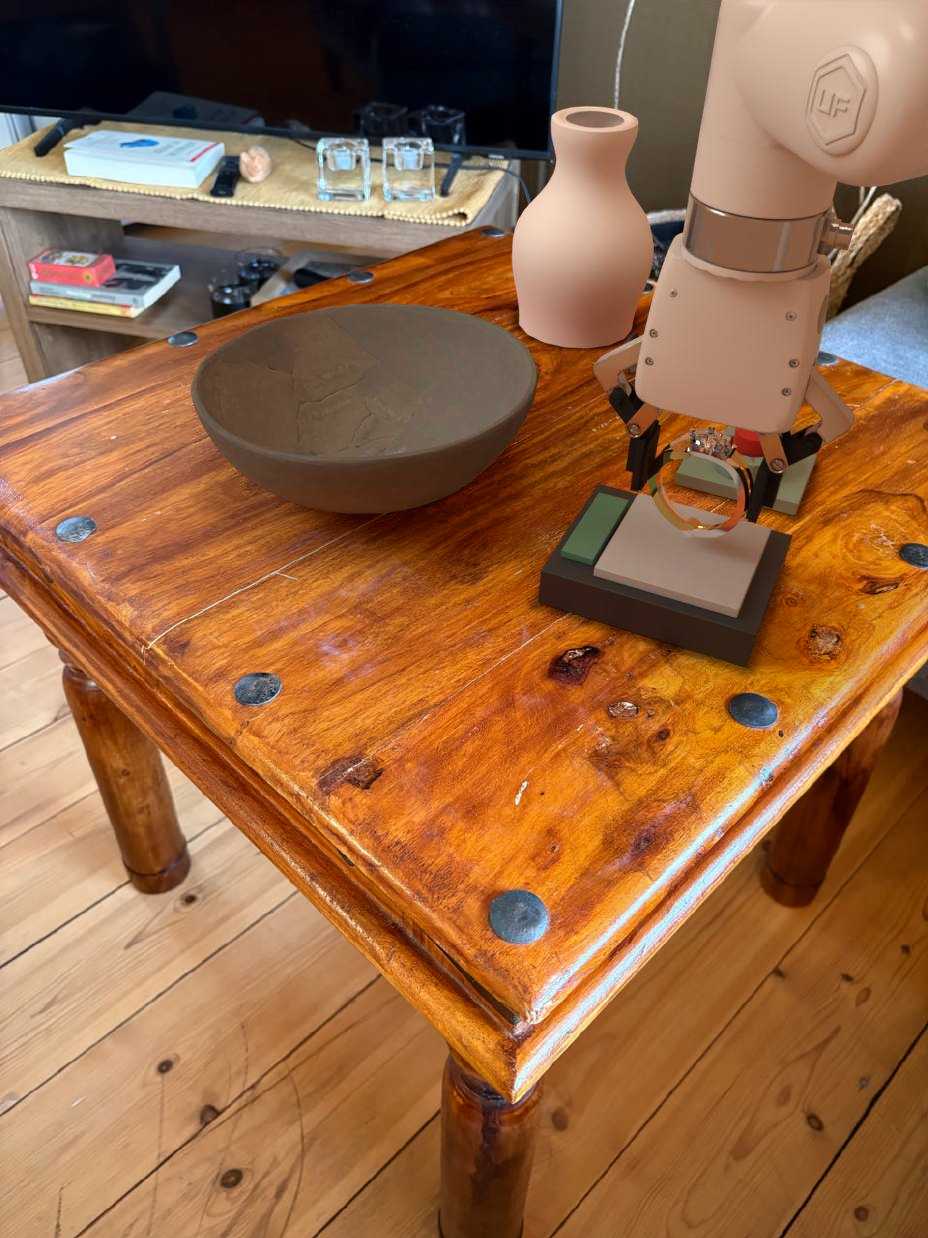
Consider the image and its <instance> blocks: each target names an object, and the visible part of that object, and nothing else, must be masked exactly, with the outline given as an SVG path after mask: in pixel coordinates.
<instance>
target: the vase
mask: <svg viewBox="0 0 928 1238" xmlns="http://www.w3.org/2000/svg"><path fill="white" fill-rule="evenodd" d="M550 132H551V133H550V135H551V139H552V144H553V148H554V153H555V158H556V159H555V160H556V161H555V167H554V170H553V173H552V175H551V177H550V178H549V181H548V182H547V184H546V185H545V186H544V187H543V189H542V190H541V191H540V193H539V194H537V195H536V196H535V198H534V199H533V200H532V201H531V202H530V203H529V204H528V205H527V206H526V207H525V209H524V210H523V211H522V213H521V215H520V216H519V217H518V220H517V222H516V225H515V227H514V232H513V236H512V248H511V249H512V250H511V265H512V274H513V281H514V286H515V291H516V297H517V303H518V313H519V319H518V325H519V327H520V328H521V329H522V330H523V332H525V333H526V335H528V336H529V337H532V338H534V339H535V340H538V341H540V342H541V343H544V344H549V345H553V346H557V347H562V348H573V349H592V348H600V347H606V346H607V347H608V346H611V345H613V344H616V343H617V342H620V341H622V340H625V338H627V336H628V335H629V334H630V333H631V331H632V330H633V324H634V318H635V315H636V312H637V308H638V306H639V304H640V300H641V298H642V296H643V293H644V290H645V288H646V286H647V282H648V280H649V277H650V275H651V270H652V266H653V261H654V255H655V251H654V250H655V248H654V247H655V244H654V238H653V233H652V229H651V224H650V222H649V219H648V216H647V214H646V212H645V211H644V209H643V208H642V206H641V204H640V203H639V202H638V201H637V199H636V198H635V196H634V195H633V193H632V191H631V189H630V187H629V184H628V182H627V179H626V166H627V161H628V158H629V156H630V154H631V151H632V149H633V147H634V144H635V143H636V140H637V138H638V137H637V136H638V132H639V119H638V117H636V116H634V115H632V114H631V113H630V112H627V111H623V110H620V109H617V108H611V107H605V106H589V105H588V106H587V105H585V106H571V107H568V108H564V109H560V110H557V111H556V112H554V113H553V114H552V115H551V120H550Z"/></svg>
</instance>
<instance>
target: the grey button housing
mask: <svg viewBox="0 0 928 1238" xmlns="http://www.w3.org/2000/svg"><path fill="white" fill-rule="evenodd" d="M735 429H736V428H735V427H731V426H728V427H727V428H724V429H722V430H719V431H718V430H716V431H717V432H721V431H724V432H725V434H724V435H726V436H727V437H729V438H731V441H730V442H731V447H732V442H733V437H734V433H735ZM704 430H708V428H706V427H701V428H700V429H699V431H704ZM740 455H741V454H740ZM741 456H742V457H743V459H744V460H745V462H746V463H747V465H748V467H749V469H750V471H751V474H752V477H753V483H754V482H755V478H756V474H757V471H758V469H759V466H760V464H761V462H762V460H763V458H764V457H754V458H752V457H748V456H744V455H741ZM817 458H818V455H817V454H813V455H811V456H809V457H807V458H805V459H803V460H801V461H799V462H797V463H795V464H792V465H790V466H788V468H787V469H786V471H785V472H783V476H782V480H781V484H780V487H779V491H778V494H777V498H776V501H775V503H774V506H773V508H768V507H764V506H763V508H762V509H768V510H771V511H775V512H779V513H783V514H787V515H790V516H794V517H795V516H796V515H797V512H798V511H799V507H800V505H801V502H802V499H803V496H804V495H805V491H806V489H807V486H808V483H809V481H810V477H811V475H812V472H813V470H814V467H815V465H816V460H817ZM673 484H674V485H675V486H679V487H684V488H687V489H691V490H694V491H698V492H701V493H706V494H711V495H714V496H717V497H721V498H725V499H729V500H733V501H737V490H736V485H735V482H734V480H733V478H732V476H731V475H730V473H729V472H728V471H727V470H726V469H725V468H724V467H722V466H721V465H719V464H717V463H715V462H713V461H710V460H708V459H705V458H701V457H698V456H693V455H691V456H690V458H685V459H682V461H681V463H680V465H679V467H678V469H677V470H676V471H675V476H674V482H673Z"/></svg>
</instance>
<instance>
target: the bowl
mask: <svg viewBox="0 0 928 1238" xmlns="http://www.w3.org/2000/svg"><path fill="white" fill-rule="evenodd" d="M537 390H538V369H537V364H536V361H535V359H534V356H533V354H532V353H531V351H530V349H529V348H528V346H527V345H526V344H525V343H524V342H523V341H522V340H521V339H520V338H519V337H518V336H516V335H515V334H514V333H512V332H511V331H510V330H508V329H506V328H504V327H502V326H501V325H499V324H496V323H495V322H492V321H490V320H487V319H485V318H482V317H478V316H476V315H473V314H471V313H468V312H467V313H466V312H462V311H459V310H455V309H450V308H445V307H444V308H443V307H439V306H432V305H425V304H413V303H412V304H411V303H389V302H388V303H386V302H385V303H384V302H383V303H381V302H379V303H356V304H355V303H353V304H343V305H333V306H329V307H328V306H327V307H323V308H319V309H314V310H308V311H304V312H299V313H295V314H291V315H287V316H283V317H277V318H274V319H270V320H268V321H265V322H262V323H260V324H257V325H255V326H253V327H251V328H249V329H247V330H245V331H244V332H242V333H240V334H239V335H236V336H235V337H233V338H232V339H229V340H228V341H227V342H225V343H223V344H222V345H220V346H218V347H217V348H215V349H214V350H213V351H211V352H210V353H209V354H208V355H206V356H205V357H204V358H203V359H202V361H201V362H199V364H198V366H197V368H196V371H195V374H194V376H193V379H192V382H191V386H190V394H191V395H190V396H191V401H192V404H193V408H194V410H195V412H196V415H197V417H198V419H199V422H200V423H201V426H203V428H204V430H205V432H206V434H207V436H208V437H209V439H210V441H212V443H213V444H214V446H215V447H216V449H217V450H218V451H219V453H220V454H221V455H222V456H223V458H224V459H225V460H226V461H227V462H228V463H229V464H230V465H231V466H232V467H233V468H234V469H235V470H237V471H238V472H239V473H240V474H241V475H242V476H243V477H245V478H246V479H247V480H249V481H250V482H252V483H253V484H255V485H256V486H257V487H259V488H261V489H263V490H264V491H267V492H268V493H270V494H272V495H274V496H276V497H279V498H281V499H283V500H286V501H288V502H291V503H294V504H296V505H299V506H302V507H305V508H310V509H313V510H318V511H321V512H329V513H337V514H338V513H339V514H358V515H359V514H388V513H394V512H402V511H407V510H410V509H414V508H418V507H422V506H424V505H428V504H430V503H433V502H436V501H439V500H441V499H443V498H446V497H447V496H450V495H452V494H454V493H456V492H458V491H460V490H462V489H463V488H465V487H467V486H468V485H469V484H470V483H472V482H473V481H474V480H475V479H477V478H478V477H479V476H480V475H481V474H483V473H484V472H485V471H486V470H487V469H488V468H489V467H490V466H491V465H492V464H493V463H495V461H496V460H497V459H498V458H499V457H500V456H501V455H502V454H503V453H504V451H505V450H506V449H507V448H508V447H509V446H510V445H511V444H512V442H513V440H515V437H517V435H518V434H519V432H520V430H521V428H522V427H523V425H524V423H525V422H526V420H527V418H528V415H529V413H530V412H531V408H532V407H533V404H534V402H535V399H536V394H537Z"/></svg>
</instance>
